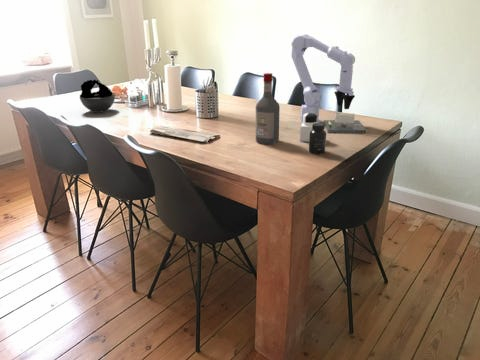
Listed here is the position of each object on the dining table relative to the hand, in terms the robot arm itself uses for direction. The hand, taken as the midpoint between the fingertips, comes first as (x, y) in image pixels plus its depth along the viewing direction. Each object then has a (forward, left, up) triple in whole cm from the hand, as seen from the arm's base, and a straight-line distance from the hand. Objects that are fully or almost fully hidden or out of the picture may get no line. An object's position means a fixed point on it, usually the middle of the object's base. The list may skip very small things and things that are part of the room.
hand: (343, 107), depth 197 cm
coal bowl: (-140, +27, -10) cm, 143 cm away
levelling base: (0, -5, -9) cm, 10 cm away
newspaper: (-79, -21, -10) cm, 82 cm away
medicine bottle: (-19, -25, -10) cm, 32 cm away
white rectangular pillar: (0, -5, -8) cm, 9 cm away
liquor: (-38, -28, -10) cm, 48 cm away
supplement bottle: (-17, -42, -10) cm, 46 cm away
